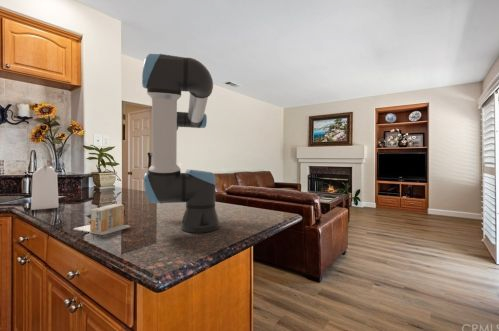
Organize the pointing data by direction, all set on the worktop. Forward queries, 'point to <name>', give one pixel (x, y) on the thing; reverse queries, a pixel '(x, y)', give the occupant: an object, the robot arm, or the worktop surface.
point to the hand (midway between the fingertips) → (150, 186)
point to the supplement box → (106, 217)
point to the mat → (117, 228)
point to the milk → (44, 188)
